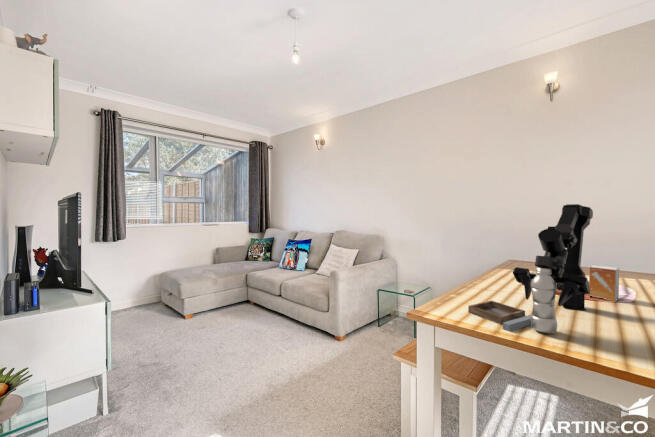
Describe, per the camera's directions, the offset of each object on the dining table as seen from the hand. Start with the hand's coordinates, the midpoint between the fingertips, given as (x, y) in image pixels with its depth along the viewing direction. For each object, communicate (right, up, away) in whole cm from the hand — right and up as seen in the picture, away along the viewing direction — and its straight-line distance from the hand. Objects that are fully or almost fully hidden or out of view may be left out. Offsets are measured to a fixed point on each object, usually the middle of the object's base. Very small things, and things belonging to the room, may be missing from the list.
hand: (542, 302), depth 87 cm
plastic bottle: (+1, -10, +1) cm, 10 cm away
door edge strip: (-1, -9, +7) cm, 12 cm away
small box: (+49, -8, +31) cm, 59 cm away
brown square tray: (-5, -9, +15) cm, 19 cm away
